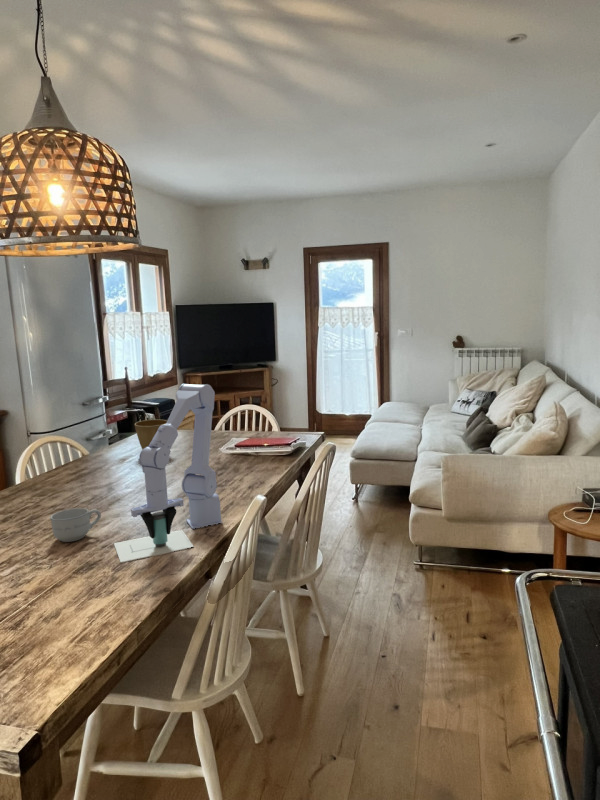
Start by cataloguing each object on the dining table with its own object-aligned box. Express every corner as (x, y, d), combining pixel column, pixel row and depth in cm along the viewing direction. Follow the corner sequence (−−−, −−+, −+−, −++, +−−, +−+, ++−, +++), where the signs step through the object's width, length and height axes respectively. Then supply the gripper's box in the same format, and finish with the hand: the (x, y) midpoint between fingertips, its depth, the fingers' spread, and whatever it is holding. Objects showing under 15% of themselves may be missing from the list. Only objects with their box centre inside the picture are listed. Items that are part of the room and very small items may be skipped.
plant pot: (131, 459, 257) (128, 425, 254) (148, 451, 271) (146, 418, 268) (159, 460, 252) (156, 426, 250) (176, 452, 266) (173, 419, 264)
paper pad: (182, 530, 170) (182, 529, 170) (193, 547, 158) (193, 546, 158) (113, 544, 162) (113, 543, 162) (120, 563, 150) (120, 561, 150)
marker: (164, 540, 162) (162, 511, 160) (170, 545, 158) (167, 514, 157) (151, 544, 159) (148, 514, 158) (156, 549, 156) (153, 518, 155)
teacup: (50, 547, 161) (47, 521, 160) (55, 533, 171) (52, 509, 170) (101, 540, 165) (98, 515, 164) (103, 527, 175) (101, 503, 174)
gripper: (175, 480, 163) (178, 524, 166) (126, 490, 156) (130, 536, 158) (185, 486, 158) (188, 532, 160) (134, 497, 150) (138, 545, 152)
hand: (159, 535), depth 158 cm, fingers closed on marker, 4 cm apart
